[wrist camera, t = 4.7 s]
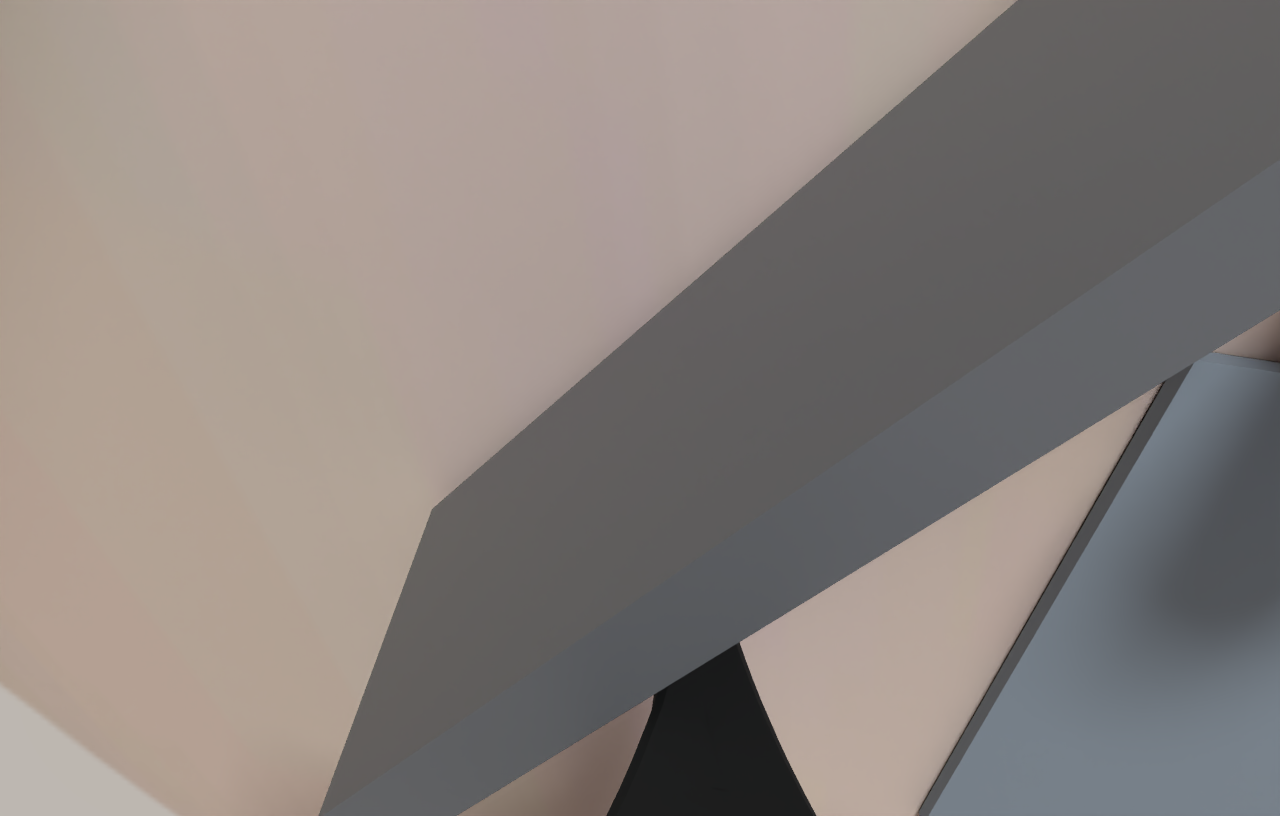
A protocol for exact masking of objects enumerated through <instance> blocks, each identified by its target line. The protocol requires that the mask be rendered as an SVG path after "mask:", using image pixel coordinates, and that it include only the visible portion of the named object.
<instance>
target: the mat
mask: <svg viewBox="0 0 1280 816" xmlns="http://www.w3.org/2000/svg"><path fill="white" fill-rule="evenodd" d="M919 815H920V816H1280V363H1278V362H1271V361H1265V360H1258V359H1252V358H1245V357H1239V356H1232V355H1226V354H1219V353H1213V352H1211V353H1209V354H1208V355H1206V356H1204V357H1203V358H1201V359H1199V360H1198V361H1196V362H1195V363H1193V364H1191V365H1190V366H1188V367H1186V368H1185V369H1183V370H1182V371H1180V372H1178V373H1177V374H1175V375H1173V376H1172V377H1170V378H1168V379H1167V380H1166V381H1165V383H1164V384H1163V386H1162V388H1161V390H1160V391H1159V393H1158V395H1157V397H1156V398H1155V400H1154V402H1153V404H1152V405H1151V407H1150V409H1149V411H1148V412H1147V414H1146V416H1145V418H1144V419H1143V421H1142V423H1141V425H1140V426H1139V428H1138V430H1137V432H1136V433H1135V435H1134V437H1133V439H1132V440H1131V442H1130V444H1129V446H1128V447H1127V449H1126V451H1125V453H1124V454H1123V456H1122V458H1121V460H1120V461H1119V463H1118V465H1117V467H1116V468H1115V470H1114V472H1113V474H1112V475H1111V477H1110V479H1109V481H1108V482H1107V484H1106V486H1105V488H1104V489H1103V491H1102V493H1101V494H1100V496H1099V498H1098V500H1097V501H1096V503H1095V505H1094V507H1093V508H1092V510H1091V512H1090V514H1089V515H1088V517H1087V519H1086V521H1085V522H1084V524H1083V526H1082V528H1081V529H1080V531H1079V533H1078V535H1077V536H1076V538H1075V540H1074V542H1073V543H1072V545H1071V547H1070V549H1069V550H1068V552H1067V554H1066V556H1065V557H1064V559H1063V561H1062V563H1061V564H1060V566H1059V568H1058V570H1057V571H1056V573H1055V575H1054V577H1053V578H1052V580H1051V582H1050V584H1049V585H1048V587H1047V589H1046V591H1045V592H1044V594H1043V596H1042V598H1041V599H1040V601H1039V603H1038V604H1037V606H1036V608H1035V610H1034V611H1033V613H1032V615H1031V617H1030V618H1029V620H1028V622H1027V624H1026V625H1025V627H1024V629H1023V631H1022V632H1021V634H1020V636H1019V638H1018V639H1017V641H1016V643H1015V645H1014V646H1013V648H1012V650H1011V652H1010V653H1009V655H1008V657H1007V659H1006V660H1005V662H1004V664H1003V666H1002V667H1001V669H1000V671H999V673H998V674H997V676H996V678H995V680H994V681H993V683H992V685H991V687H990V688H989V690H988V692H987V694H986V695H985V697H984V699H983V701H982V702H981V704H980V706H979V708H978V709H977V711H976V713H975V715H974V716H973V718H972V720H971V721H970V723H969V725H968V727H967V728H966V730H965V732H964V734H963V735H962V737H961V739H960V741H959V742H958V744H957V746H956V748H955V749H954V751H953V753H952V755H951V756H950V758H949V760H948V762H947V763H946V765H945V767H944V769H943V770H942V772H941V774H940V776H939V777H938V779H937V781H936V783H935V784H934V786H933V788H932V790H931V791H930V793H929V795H928V797H927V798H926V800H925V802H924V804H923V805H922V807H921V809H920V811H919Z"/></svg>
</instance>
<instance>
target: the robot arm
mask: <svg viewBox="0 0 1280 816" xmlns="http://www.w3.org/2000/svg"><path fill="white" fill-rule="evenodd" d="M607 816H816V814H815V812H814V810H813V809H812V807H811V805H810V803H809V801H808V799H807V797H806V795H805V794H804V792H803V790H802V788H801V786H800V784H799V782H798V780H797V778H796V776H795V774H794V772H793V770H792V768H791V766H790V764H789V762H788V760H787V757H786V755H785V753H784V751H783V749H782V747H781V745H780V743H779V740H778V738H777V736H776V734H775V731H774V729H773V727H772V724H771V722H770V720H769V717H768V715H767V713H766V711H765V708H764V706H763V704H762V701H761V699H760V696H759V694H758V691H757V689H756V686H755V684H754V681H753V679H752V676H751V673H750V671H749V668H748V665H747V663H746V660H745V657H744V654H743V651H742V648H741V646H740V643H737V644H735V645H734V646H732V647H730V648H729V649H727V650H726V651H724V652H722V653H721V654H719V655H717V656H716V657H714V658H713V659H711V660H709V661H708V662H706V663H704V664H703V665H701V666H700V667H698V668H696V669H695V670H693V671H691V672H690V673H688V674H686V675H685V676H683V677H682V678H680V679H678V680H677V681H675V682H673V683H672V684H670V685H669V686H667V687H665V688H664V689H662V690H660V691H659V692H657V693H656V694H654V698H653V705H652V711H651V714H650V716H649V719H648V722H647V724H646V727H645V729H644V732H643V734H642V737H641V739H640V742H639V744H638V747H637V749H636V752H635V754H634V757H633V759H632V762H631V764H630V766H629V769H628V771H627V773H626V775H625V778H624V780H623V782H622V784H621V786H620V789H619V791H618V793H617V795H616V797H615V799H614V801H613V803H612V806H611V808H610V810H609V812H608V814H607Z"/></svg>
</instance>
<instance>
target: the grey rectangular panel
mask: <svg viewBox="0 0 1280 816" xmlns="http://www.w3.org/2000/svg"><path fill="white" fill-rule="evenodd" d="M1279 310H1280V0H1018V1H1016V2H1015V3H1014V4H1013V5H1012V6H1011V7H1010V8H1008V9H1007V10H1006V11H1005V12H1004V13H1003V14H1002V15H1000V16H999V17H998V18H997V19H996V20H995V21H993V22H992V23H991V24H990V25H989V26H988V27H987V28H985V29H984V30H983V31H982V32H981V33H980V34H978V35H977V36H976V37H975V38H974V39H973V40H972V41H970V42H969V43H968V44H967V45H966V46H965V47H964V48H962V49H961V50H960V51H959V52H958V53H957V54H955V55H954V56H953V57H952V58H951V59H950V60H949V61H947V62H946V63H945V64H944V65H943V66H942V67H941V68H939V69H938V70H937V71H936V72H935V73H934V74H932V75H931V76H930V77H929V78H928V79H927V80H926V81H924V82H923V83H922V84H921V85H920V86H919V87H917V88H916V89H915V90H914V91H913V92H912V93H911V94H909V95H908V96H907V97H906V98H905V99H904V100H903V101H901V102H900V103H899V104H898V105H897V106H896V107H894V108H893V109H892V110H891V111H890V112H889V113H888V114H886V115H885V116H884V117H883V118H882V119H881V120H880V121H878V122H877V123H876V124H875V125H874V126H873V127H871V128H870V129H869V130H868V131H867V132H866V133H865V134H863V135H862V136H861V137H860V138H859V139H858V140H856V141H855V142H854V143H853V144H852V145H851V146H850V147H848V148H847V149H846V150H845V151H844V152H843V153H842V154H840V155H839V156H838V157H837V158H836V159H835V160H833V161H832V162H831V163H830V164H829V165H828V166H827V167H825V168H824V169H823V170H822V171H821V172H820V173H819V174H817V175H816V176H815V177H814V178H813V179H812V180H810V181H809V182H808V183H807V184H806V185H805V186H804V187H802V188H801V189H800V190H799V191H798V192H797V193H795V194H794V195H793V196H792V197H791V198H790V199H789V200H787V201H786V202H785V203H784V204H783V205H782V206H781V207H779V208H778V209H777V210H776V211H775V212H774V213H772V214H771V215H770V216H769V217H768V218H767V219H766V220H764V221H763V222H762V223H761V224H760V225H759V226H758V227H756V228H755V229H754V230H753V231H752V232H751V233H749V234H748V235H747V236H746V237H745V238H744V239H743V240H741V241H740V242H739V243H738V244H737V245H736V246H734V247H733V248H732V249H731V250H730V251H729V252H728V253H726V254H725V255H724V256H723V257H722V258H721V259H720V260H718V261H717V262H716V263H715V264H714V265H713V266H711V267H710V268H709V269H708V270H707V271H706V272H705V273H703V274H702V275H701V276H700V277H699V278H698V279H697V280H695V281H694V282H693V283H692V284H691V285H690V286H688V287H687V288H686V289H685V290H684V291H683V292H682V293H680V294H679V295H678V296H677V297H676V298H675V299H673V300H672V301H671V302H670V303H669V304H668V305H667V306H665V307H664V308H663V309H662V310H661V311H660V312H659V313H657V314H656V315H655V316H654V317H653V318H652V319H650V320H649V321H648V322H647V323H646V324H645V325H644V326H642V327H641V328H640V329H639V330H638V331H637V332H636V333H634V334H633V335H632V336H631V337H630V338H629V339H627V340H626V341H625V342H624V343H623V344H622V345H621V346H619V347H618V348H617V349H616V350H615V351H614V352H613V353H611V354H610V355H609V356H608V357H607V358H606V359H604V360H603V361H602V362H601V363H600V364H599V365H598V366H596V367H595V368H594V369H593V370H592V371H591V372H589V373H588V374H587V375H586V376H585V377H584V378H583V379H581V380H580V381H579V382H578V383H577V384H576V385H575V386H573V387H572V388H571V389H570V390H569V391H568V392H566V393H565V394H564V395H563V396H562V397H561V398H560V399H558V400H557V401H556V402H555V403H554V404H553V405H552V406H550V407H549V408H548V409H547V410H546V411H545V412H543V413H542V414H541V415H540V416H539V417H538V418H537V419H535V420H534V421H533V422H532V423H531V424H530V425H528V426H527V427H526V428H525V429H524V430H523V431H522V432H520V433H519V434H518V435H517V436H516V437H515V438H514V439H512V440H511V441H510V442H509V443H508V444H507V445H505V446H504V447H503V448H502V449H501V450H500V451H499V452H497V453H496V454H495V455H494V456H493V457H492V458H491V459H489V460H488V461H487V462H486V463H485V464H484V465H482V466H481V467H480V468H479V469H478V470H477V471H476V472H474V473H473V474H472V475H471V476H470V477H469V478H467V479H466V480H465V481H464V482H463V483H462V484H461V485H459V486H458V487H457V488H456V489H455V490H454V491H453V492H451V493H450V494H449V495H448V496H447V497H446V498H444V499H443V500H442V501H441V502H440V503H439V504H438V505H436V506H435V507H434V508H433V509H432V511H431V514H430V517H429V519H428V522H427V525H426V527H425V530H424V533H423V535H422V538H421V541H420V544H419V546H418V549H417V552H416V554H415V557H414V560H413V562H412V565H411V568H410V571H409V573H408V576H407V579H406V581H405V584H404V587H403V589H402V592H401V595H400V597H399V600H398V603H397V606H396V608H395V611H394V614H393V616H392V619H391V622H390V624H389V627H388V630H387V633H386V635H385V638H384V641H383V643H382V646H381V649H380V651H379V654H378V657H377V660H376V662H375V665H374V668H373V670H372V673H371V676H370V678H369V681H368V684H367V687H366V689H365V692H364V695H363V697H362V700H361V703H360V705H359V708H358V711H357V714H356V716H355V719H354V722H353V724H352V727H351V730H350V732H349V735H348V738H347V740H346V743H345V746H344V749H343V751H342V754H341V757H340V759H339V762H338V765H337V767H336V770H335V773H334V776H333V778H332V781H331V784H330V786H329V789H328V792H327V794H326V797H325V800H324V803H323V805H322V808H321V811H320V813H319V816H457V815H459V814H460V813H462V812H463V811H465V810H467V809H468V808H470V807H472V806H473V805H475V804H476V803H478V802H480V801H481V800H483V799H485V798H486V797H488V796H489V795H491V794H493V793H494V792H496V791H498V790H499V789H501V788H502V787H504V786H506V785H507V784H509V783H511V782H512V781H514V780H516V779H517V778H519V777H520V776H522V775H524V774H525V773H527V772H529V771H530V770H532V769H533V768H535V767H537V766H538V765H540V764H542V763H543V762H545V761H546V760H548V759H550V758H551V757H553V756H555V755H556V754H558V753H559V752H561V751H563V750H564V749H566V748H568V747H569V746H571V745H573V744H574V743H576V742H577V741H579V740H581V739H582V738H584V737H586V736H587V735H589V734H590V733H592V732H594V731H595V730H597V729H599V728H600V727H602V726H603V725H605V724H607V723H608V722H610V721H612V720H613V719H615V718H616V717H618V716H620V715H621V714H623V713H625V712H626V711H628V710H630V709H631V708H633V707H634V706H636V705H638V704H639V703H641V702H643V701H644V700H646V699H647V698H649V697H651V696H652V695H654V694H656V693H657V692H659V691H660V690H662V689H664V688H665V687H667V686H669V685H670V684H672V683H673V682H675V681H677V680H678V679H680V678H682V677H683V676H685V675H686V674H688V673H690V672H691V671H693V670H695V669H696V668H698V667H700V666H701V665H703V664H704V663H706V662H708V661H709V660H711V659H713V658H714V657H716V656H717V655H719V654H721V653H722V652H724V651H726V650H727V649H729V648H730V647H732V646H734V645H735V644H737V643H739V642H740V641H742V640H743V639H745V638H747V637H748V636H750V635H752V634H753V633H755V632H757V631H758V630H760V629H761V628H763V627H765V626H766V625H768V624H770V623H771V622H773V621H774V620H776V619H778V618H779V617H781V616H783V615H784V614H786V613H787V612H789V611H791V610H792V609H794V608H796V607H797V606H799V605H800V604H802V603H804V602H805V601H807V600H809V599H810V598H812V597H814V596H815V595H817V594H818V593H820V592H822V591H823V590H825V589H827V588H828V587H830V586H831V585H833V584H835V583H836V582H838V581H840V580H841V579H843V578H844V577H846V576H848V575H849V574H851V573H853V572H854V571H856V570H857V569H859V568H861V567H862V566H864V565H866V564H867V563H869V562H870V561H872V560H874V559H875V558H877V557H879V556H880V555H882V554H884V553H885V552H887V551H888V550H890V549H892V548H893V547H895V546H897V545H898V544H900V543H901V542H903V541H905V540H906V539H908V538H910V537H911V536H913V535H914V534H916V533H918V532H919V531H921V530H923V529H924V528H926V527H927V526H929V525H931V524H932V523H934V522H936V521H937V520H939V519H941V518H942V517H944V516H945V515H947V514H949V513H950V512H952V511H954V510H955V509H957V508H958V507H960V506H962V505H963V504H965V503H967V502H968V501H970V500H971V499H973V498H975V497H976V496H978V495H980V494H981V493H983V492H984V491H986V490H988V489H989V488H991V487H993V486H994V485H996V484H998V483H999V482H1001V481H1002V480H1004V479H1006V478H1007V477H1009V476H1011V475H1012V474H1014V473H1015V472H1017V471H1019V470H1020V469H1022V468H1024V467H1025V466H1027V465H1028V464H1030V463H1032V462H1033V461H1035V460H1037V459H1038V458H1040V457H1041V456H1043V455H1045V454H1046V453H1048V452H1050V451H1051V450H1053V449H1054V448H1056V447H1058V446H1059V445H1061V444H1063V443H1064V442H1066V441H1068V440H1069V439H1071V438H1072V437H1074V436H1076V435H1077V434H1079V433H1081V432H1082V431H1084V430H1085V429H1087V428H1089V427H1090V426H1092V425H1094V424H1095V423H1097V422H1098V421H1100V420H1102V419H1103V418H1105V417H1107V416H1108V415H1110V414H1111V413H1113V412H1115V411H1116V410H1118V409H1120V408H1121V407H1123V406H1125V405H1126V404H1128V403H1129V402H1131V401H1133V400H1134V399H1136V398H1138V397H1139V396H1141V395H1142V394H1144V393H1146V392H1147V391H1149V390H1151V389H1152V388H1154V387H1155V386H1157V385H1159V384H1160V383H1162V382H1164V381H1165V380H1167V379H1168V378H1170V377H1172V376H1173V375H1175V374H1177V373H1178V372H1180V371H1182V370H1183V369H1185V368H1186V367H1188V366H1190V365H1191V364H1193V363H1195V362H1196V361H1198V360H1199V359H1201V358H1203V357H1204V356H1206V355H1208V354H1209V353H1211V352H1212V351H1214V350H1216V349H1217V348H1219V347H1221V346H1222V345H1224V344H1225V343H1227V342H1229V341H1230V340H1232V339H1234V338H1235V337H1237V336H1238V335H1240V334H1242V333H1243V332H1245V331H1247V330H1248V329H1250V328H1252V327H1253V326H1255V325H1256V324H1258V323H1260V322H1261V321H1263V320H1265V319H1266V318H1268V317H1269V316H1271V315H1273V314H1274V313H1276V312H1278V311H1279Z"/></svg>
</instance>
